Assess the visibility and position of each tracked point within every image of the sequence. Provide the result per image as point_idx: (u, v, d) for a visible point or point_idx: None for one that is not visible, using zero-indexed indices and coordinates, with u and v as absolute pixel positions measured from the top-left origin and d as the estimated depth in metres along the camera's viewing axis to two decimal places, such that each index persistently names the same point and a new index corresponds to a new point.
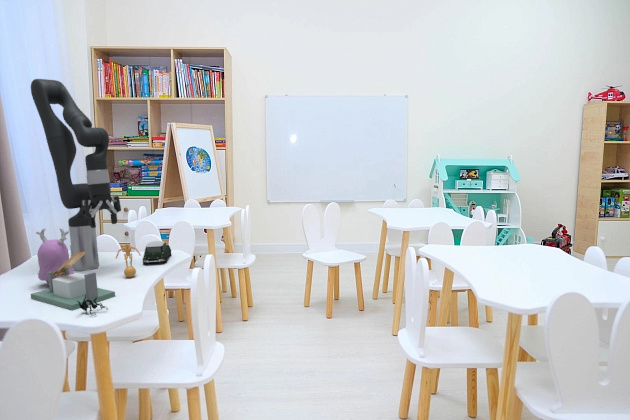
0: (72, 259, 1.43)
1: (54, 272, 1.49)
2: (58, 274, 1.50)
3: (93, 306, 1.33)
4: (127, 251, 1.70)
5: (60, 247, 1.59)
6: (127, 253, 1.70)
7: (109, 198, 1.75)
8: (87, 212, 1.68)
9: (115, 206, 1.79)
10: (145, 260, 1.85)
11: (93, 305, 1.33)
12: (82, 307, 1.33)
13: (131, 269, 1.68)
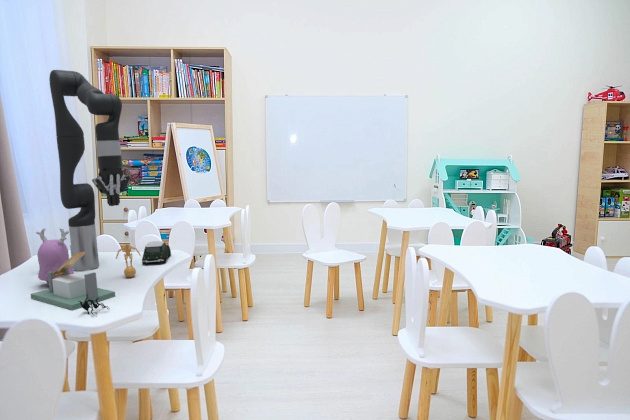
0: (72, 259, 1.43)
1: (54, 272, 1.49)
2: (58, 274, 1.50)
3: (95, 306, 1.33)
4: (127, 251, 1.70)
5: (60, 247, 1.59)
6: (127, 253, 1.70)
7: (120, 172, 1.60)
8: (104, 190, 1.55)
9: (120, 186, 1.63)
10: (144, 260, 1.85)
11: (95, 305, 1.33)
12: (84, 307, 1.33)
13: (131, 269, 1.68)
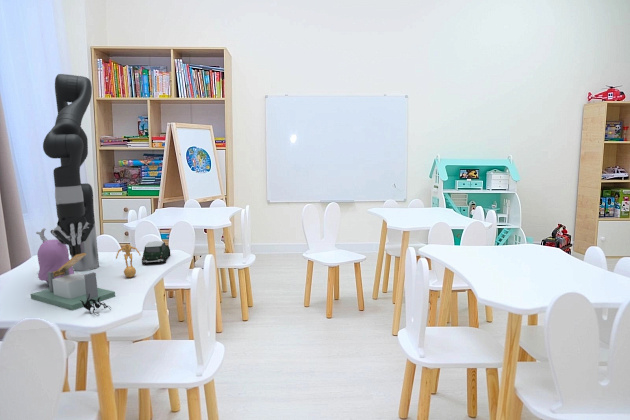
0: (72, 260, 1.43)
1: (54, 272, 1.49)
2: (58, 274, 1.50)
3: (96, 306, 1.33)
4: (127, 251, 1.70)
5: (60, 247, 1.59)
6: (127, 253, 1.70)
7: (83, 220, 1.45)
8: (65, 240, 1.40)
9: (82, 234, 1.47)
10: (144, 260, 1.85)
11: (96, 305, 1.34)
12: (85, 306, 1.34)
13: (131, 269, 1.68)
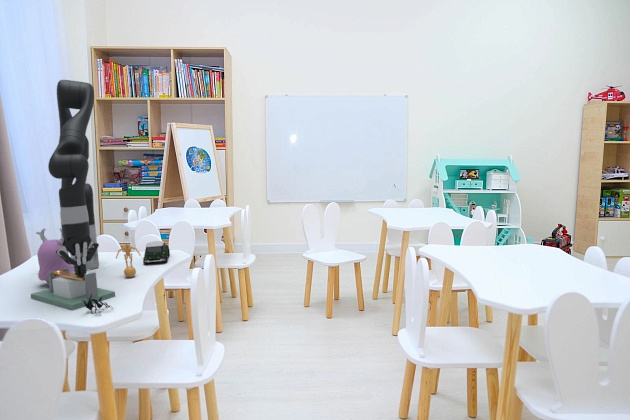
0: None
1: (55, 273, 1.49)
2: None
3: (98, 305, 1.34)
4: (127, 251, 1.70)
5: (60, 247, 1.59)
6: (127, 253, 1.70)
7: (88, 239, 1.45)
8: (71, 261, 1.40)
9: (87, 254, 1.47)
10: (146, 260, 1.85)
11: (98, 304, 1.34)
12: (87, 306, 1.34)
13: (131, 269, 1.68)
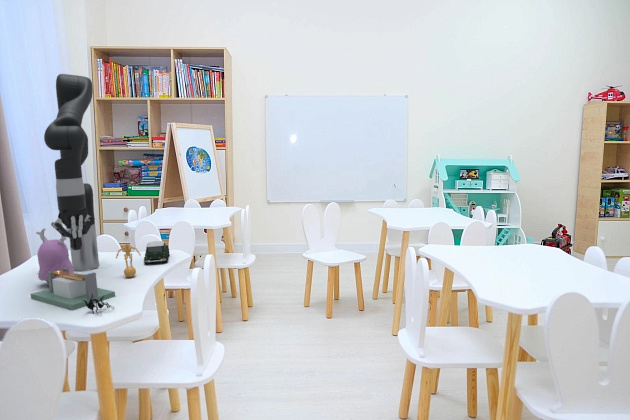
0: (77, 279, 1.43)
1: (55, 273, 1.49)
2: None
3: (99, 305, 1.34)
4: (127, 251, 1.70)
5: (60, 247, 1.59)
6: (127, 253, 1.70)
7: (84, 212, 1.44)
8: (66, 233, 1.39)
9: (83, 227, 1.46)
10: (147, 260, 1.85)
11: (99, 304, 1.34)
12: (88, 306, 1.34)
13: (131, 269, 1.68)
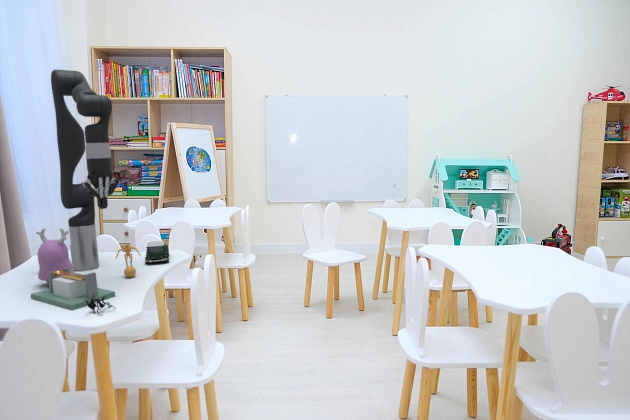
0: (77, 279, 1.43)
1: (55, 273, 1.49)
2: None
3: (101, 305, 1.34)
4: (127, 251, 1.70)
5: (60, 247, 1.59)
6: (127, 253, 1.70)
7: (110, 175, 1.58)
8: (94, 193, 1.53)
9: (109, 189, 1.60)
10: (148, 260, 1.85)
11: (101, 304, 1.34)
12: (90, 306, 1.34)
13: (131, 269, 1.68)
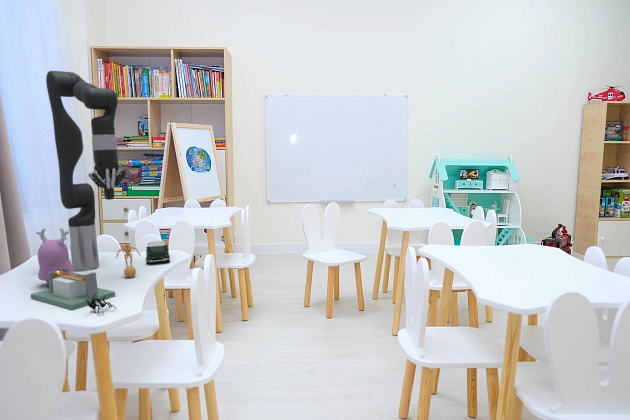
0: (77, 279, 1.43)
1: (55, 273, 1.49)
2: None
3: (101, 305, 1.34)
4: (127, 251, 1.70)
5: (60, 247, 1.59)
6: (127, 253, 1.70)
7: (116, 166, 1.61)
8: (101, 183, 1.57)
9: (115, 180, 1.63)
10: (149, 260, 1.85)
11: (101, 304, 1.34)
12: (91, 306, 1.34)
13: (131, 269, 1.68)
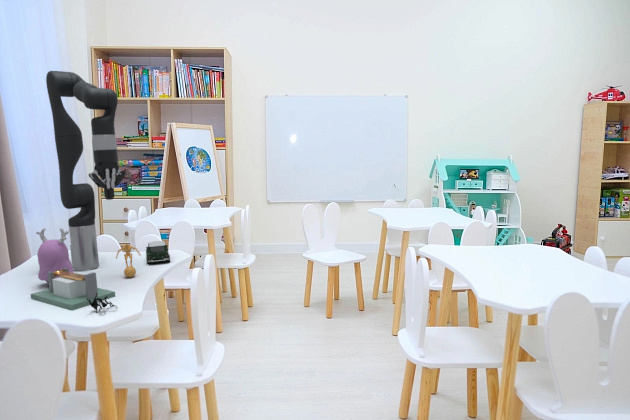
0: (77, 279, 1.43)
1: (55, 273, 1.49)
2: None
3: (103, 305, 1.34)
4: (127, 251, 1.70)
5: (60, 247, 1.59)
6: (127, 253, 1.70)
7: (116, 166, 1.61)
8: (101, 183, 1.57)
9: (115, 180, 1.63)
10: (150, 260, 1.86)
11: (103, 304, 1.34)
12: (92, 305, 1.34)
13: (131, 269, 1.68)
